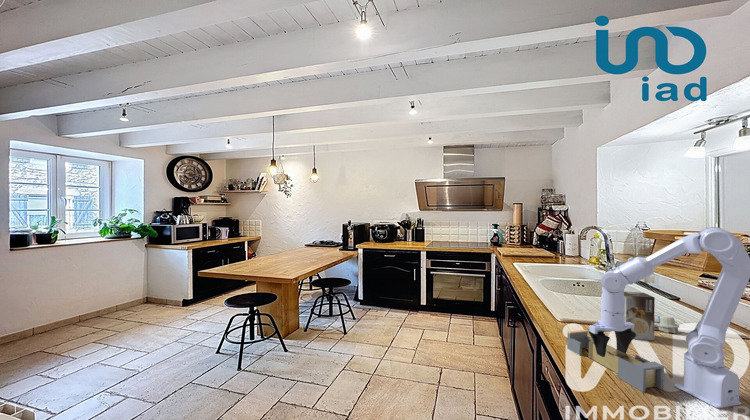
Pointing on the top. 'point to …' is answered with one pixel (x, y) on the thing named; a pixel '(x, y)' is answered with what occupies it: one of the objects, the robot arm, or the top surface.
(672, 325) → the pale grey bumpy piece
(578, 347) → the socket
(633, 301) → the coffee box
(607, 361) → the tan rectangular post
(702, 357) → the robot arm
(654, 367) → the sleeve
